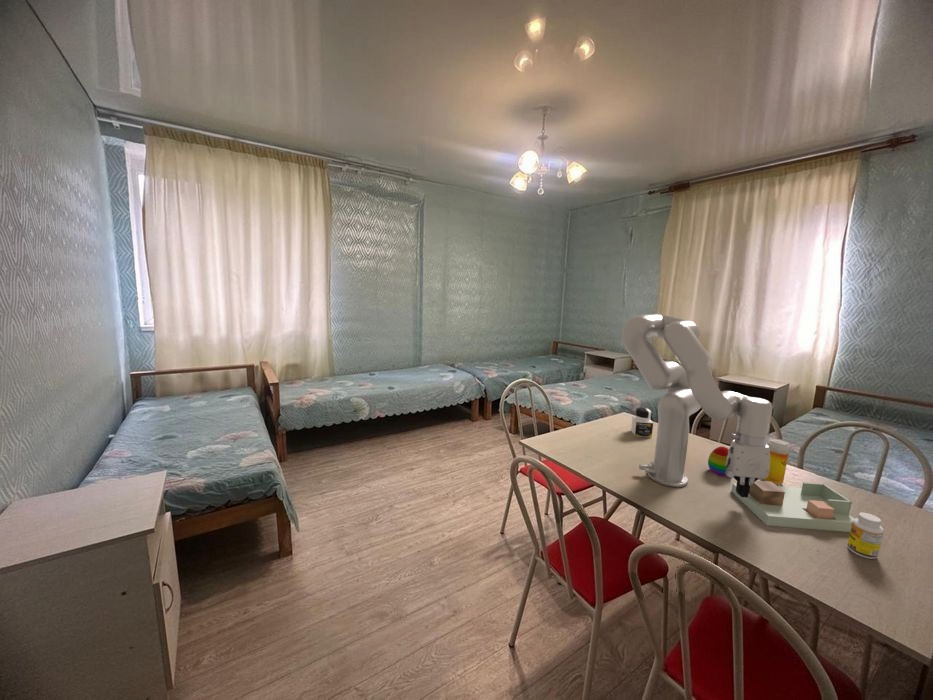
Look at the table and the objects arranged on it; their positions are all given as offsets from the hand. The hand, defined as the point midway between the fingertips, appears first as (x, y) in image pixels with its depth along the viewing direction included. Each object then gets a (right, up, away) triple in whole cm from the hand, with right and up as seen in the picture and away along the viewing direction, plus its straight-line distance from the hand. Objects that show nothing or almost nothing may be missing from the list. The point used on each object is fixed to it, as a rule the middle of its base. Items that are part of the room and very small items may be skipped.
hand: (741, 494), depth 118 cm
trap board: (+14, -4, -1) cm, 15 cm away
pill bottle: (+22, -2, +16) cm, 28 cm away
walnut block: (+7, -1, 0) cm, 7 cm away
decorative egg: (+8, 0, +22) cm, 23 cm away
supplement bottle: (+18, -8, -19) cm, 27 cm away
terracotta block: (+17, -6, -7) cm, 19 cm away
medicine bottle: (-6, +6, +56) cm, 57 cm away
